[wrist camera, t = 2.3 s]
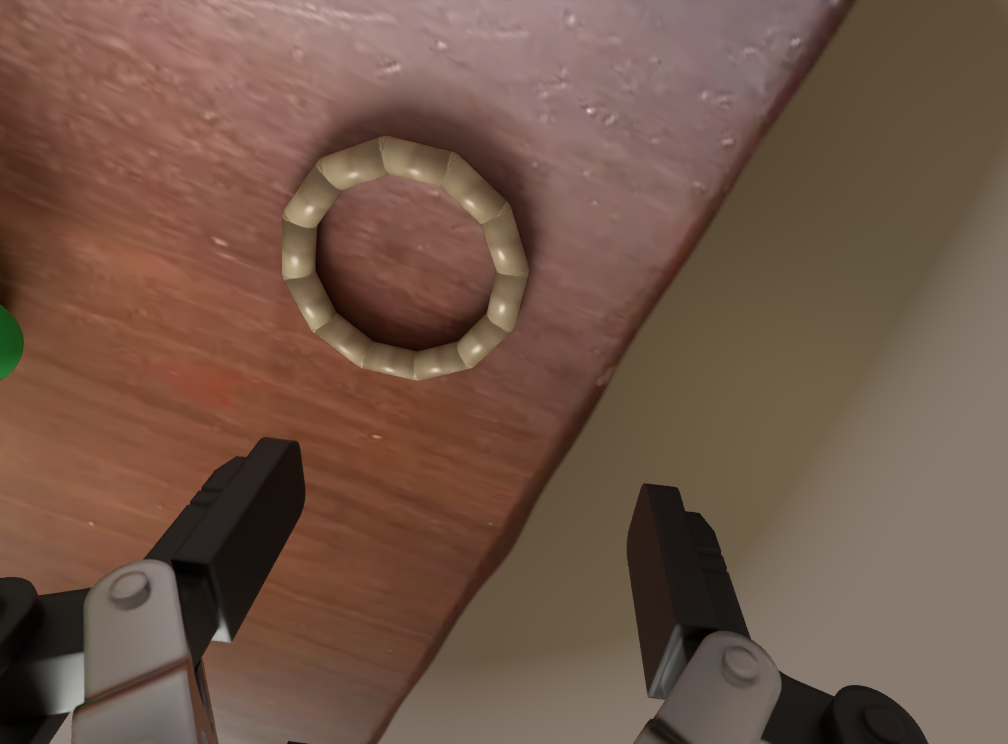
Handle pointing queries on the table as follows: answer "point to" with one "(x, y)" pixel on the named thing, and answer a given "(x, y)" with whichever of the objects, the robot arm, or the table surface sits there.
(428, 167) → the ring
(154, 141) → the table surface
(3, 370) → the molecule model
